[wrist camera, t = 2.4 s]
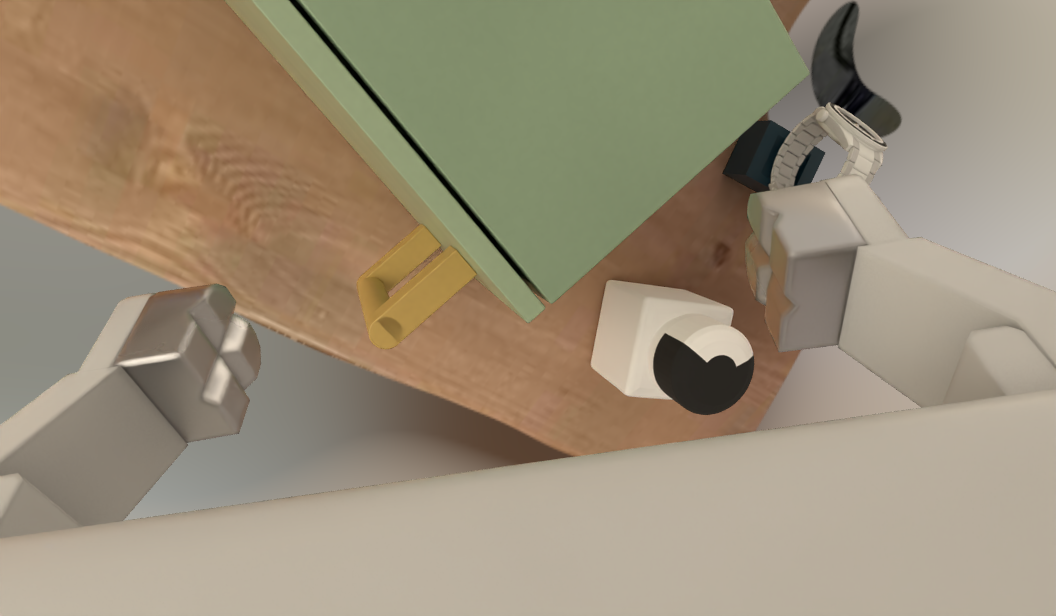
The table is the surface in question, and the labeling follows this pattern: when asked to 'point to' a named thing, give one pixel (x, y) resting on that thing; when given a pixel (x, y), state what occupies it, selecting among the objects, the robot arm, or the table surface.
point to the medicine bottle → (671, 347)
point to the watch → (803, 150)
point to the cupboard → (563, 106)
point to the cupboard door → (404, 175)
